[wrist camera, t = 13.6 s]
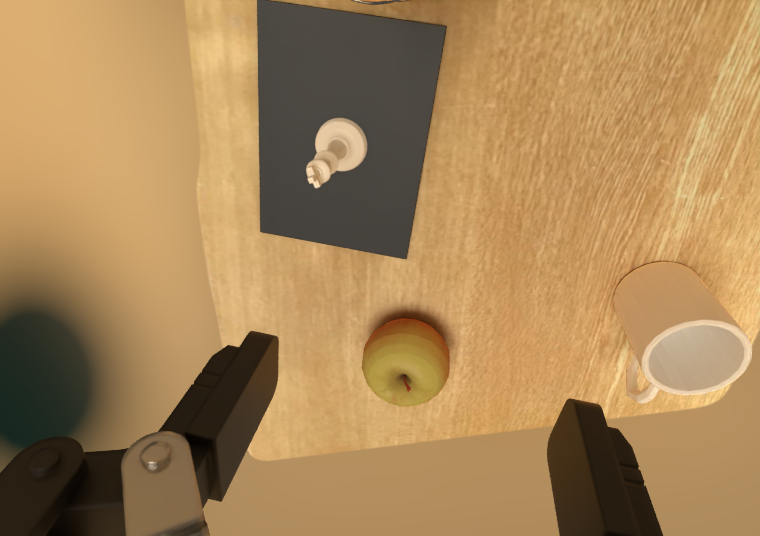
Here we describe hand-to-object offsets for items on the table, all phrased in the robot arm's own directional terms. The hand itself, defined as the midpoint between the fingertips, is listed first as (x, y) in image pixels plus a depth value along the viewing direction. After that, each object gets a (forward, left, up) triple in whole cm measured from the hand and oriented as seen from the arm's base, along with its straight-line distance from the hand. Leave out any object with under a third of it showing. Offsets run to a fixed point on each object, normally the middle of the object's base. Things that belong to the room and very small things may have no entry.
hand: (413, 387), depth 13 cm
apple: (+26, 0, -34) cm, 43 cm away
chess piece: (+4, -10, -34) cm, 35 cm away
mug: (+16, +23, -34) cm, 44 cm away
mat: (+4, -10, -34) cm, 36 cm away
